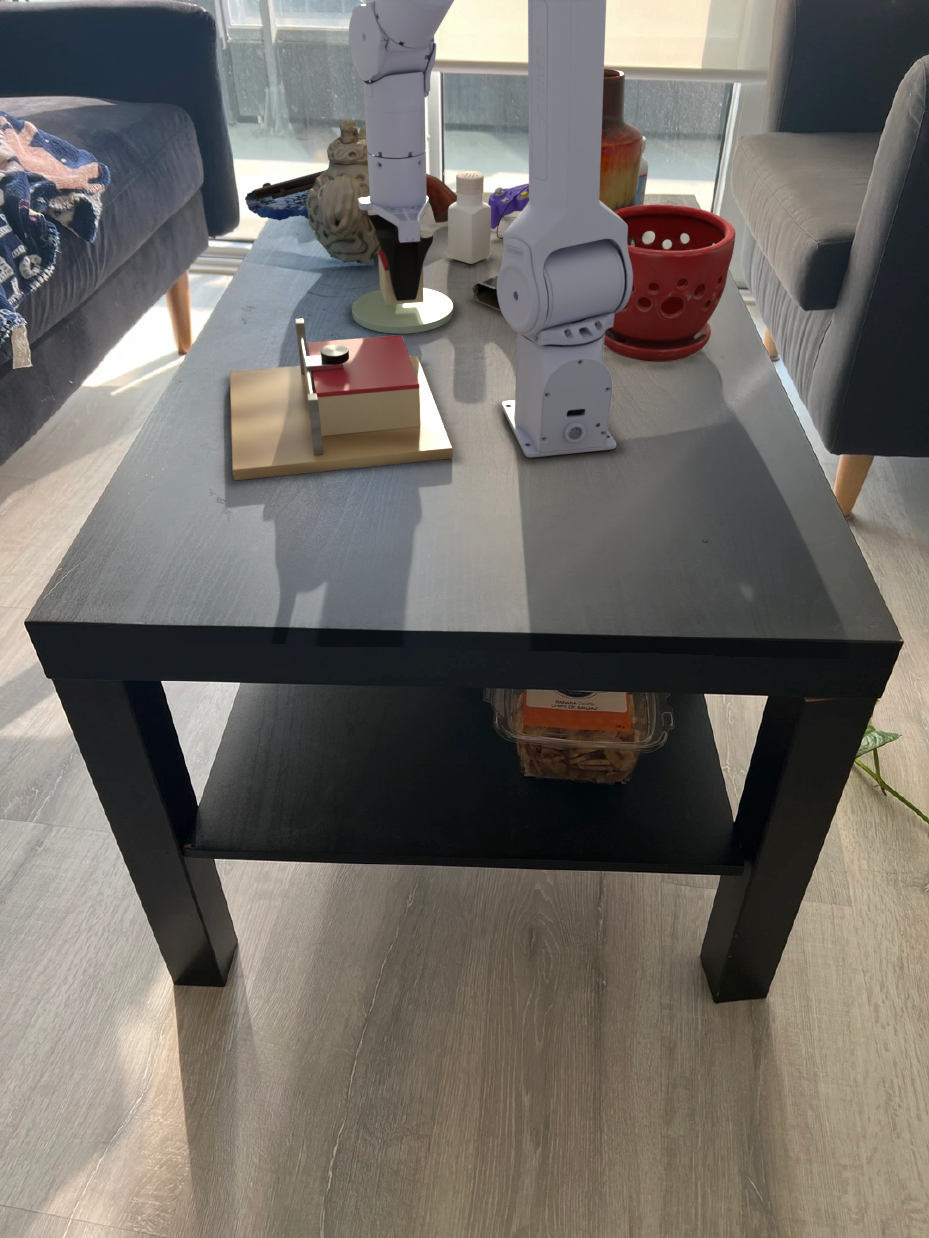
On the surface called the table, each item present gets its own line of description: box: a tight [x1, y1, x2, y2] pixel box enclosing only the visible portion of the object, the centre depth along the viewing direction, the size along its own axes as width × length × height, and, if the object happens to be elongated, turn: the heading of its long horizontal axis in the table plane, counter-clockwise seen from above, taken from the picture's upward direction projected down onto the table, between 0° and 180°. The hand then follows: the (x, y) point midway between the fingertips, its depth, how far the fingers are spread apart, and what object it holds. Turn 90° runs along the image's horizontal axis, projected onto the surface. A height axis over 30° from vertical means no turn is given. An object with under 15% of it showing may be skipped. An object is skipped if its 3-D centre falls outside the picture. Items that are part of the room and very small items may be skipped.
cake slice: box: [377, 250, 424, 305], centre depth 98 cm, size 5×4×4 cm
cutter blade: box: [301, 338, 349, 394], centre depth 81 cm, size 11×4×5 cm, turn 12°
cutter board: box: [229, 318, 453, 481], centre depth 81 cm, size 18×18×6 cm
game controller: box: [487, 182, 529, 240], centre depth 120 cm, size 10×8×10 cm
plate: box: [351, 287, 454, 335], centre depth 101 cm, size 11×11×1 cm
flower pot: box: [604, 203, 736, 363], centre depth 91 cm, size 13×13×12 cm
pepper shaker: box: [447, 171, 492, 265], centre depth 111 cm, size 4×4×10 cm
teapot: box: [306, 118, 381, 266], centre depth 109 cm, size 21×12×15 cm, turn 170°
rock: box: [244, 189, 311, 222], centre depth 127 cm, size 15×17×2 cm
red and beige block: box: [306, 334, 421, 436], centre depth 82 cm, size 10×9×4 cm
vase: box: [599, 68, 644, 246], centre depth 106 cm, size 11×11×20 cm
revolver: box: [253, 169, 457, 224], centre depth 123 cm, size 26×4×12 cm
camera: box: [472, 275, 501, 312], centre depth 101 cm, size 5×10×4 cm, turn 41°
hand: (401, 289), depth 99 cm, fingers closed on cake slice, 5 cm apart
